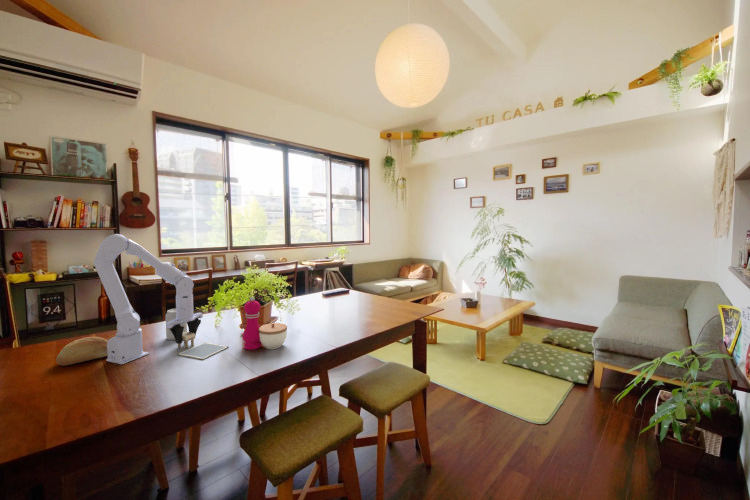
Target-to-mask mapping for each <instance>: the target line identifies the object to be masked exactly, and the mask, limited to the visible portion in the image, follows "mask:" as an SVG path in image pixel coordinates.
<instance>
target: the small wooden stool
mask: <svg viewBox="0 0 750 500" xmlns="http://www.w3.org/2000/svg"><path fill="white" fill-rule="evenodd" d="M195 339H196V336H195V333H190V332H189V331H187V332H183V334H182V342H183V345H184V346H185V347H184V348H185V350H188V349H189V342H190V347H191V348H193V347H195V342H194V341H195ZM177 346H178V348H182V343H181V344H177Z"/></svg>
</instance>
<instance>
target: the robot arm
mask: <svg viewBox="0 0 750 500" xmlns="http://www.w3.org/2000/svg"><path fill="white" fill-rule="evenodd" d="M123 252H125V253H124V254H125V255H131V256H135V257H137V258H139V259H140V260H142V261H144V262H145V263H146V264H147V265H150V266H151V267H152V268H154V269H155V274H156V275H157V276H158V277H160V278H161V279H163V280H164V281H166V282H167V283H169V284H170V285H174V287H175V290H176V293H175V294H176V295H175V309H176V318H175V319H173V320H171V321H169V322H167V323H166V322H165V329H166V328H169V329H170V331H171V332H172V333H173V335H174V338H175V340H174V341H175V344H177V345H178V344H181V345H182V343H183V341H182V334H183V329H184V327H182V326H181V325H180V324H183V323H186V322H187V330H188V332H190V333H195V337H196V335H197V331H198V329H199V327H200V325H201V324H202V320H201V319H203V317H204V316H203V312H196V313H194V293H193V289H194V286H195V284H194V282H193V279H192V277H190V276H189V275H188V274H187V273H186V272H185V271H181V270H180V269H179V268H177V267H176V264H175V263H173V262H170V261H165V262H164V261H161V260H160V259H159V258H158V257H156V256H155V255H154V254H152V253H151V252H150V251H148V250H147V249H146V248H144V247H143V246H142V245H141V244H138V243H137V242H135V241H134V240H132V239H130V238H129V239H128V238H127V237H126V236H125V235H123V234H120V233H114V234H110V235H108V236H107V237H105V238H104V240H103V241H102V242H101V243H100V244H99V246H98V249H97V252H96V255H95V257H94V260H93V265H94V268H95V270H96V272H97V274H98V277H99V279H100V281H101V284H102V286H103V288H104V290H105V293H106V295H107V297H108V299H109V302H110V303H111V304H110V305H111V306H112V308H113V310H114V311H113V312H114V315H115V319H116V322H117V323H116V330H117V331H116V334H115V336H113V337H110V338H109V339H107V340H108V342H107V353H108V356H107V358H106V362H109V363H114V364H118V365H124V364H126V363H129V362H133V361H134V360H137V359H139V358H142V357H144V356H148V355H149V354H150V352H148V351H144V346H143V329H142V328H141V327H140V326H141V323H140V321H141V317H140V314H138V312H136V311H135V309H134V308H133V306H132V305H131V303H130V301H129V297H128V296H127V294H126V291H125V288H124V286H123V284H122V281H121V279H120V277H119V274H118V272H117V269H116V268H115V267H116V266H115V264H114V262H115V261H116V259H117V258H118V256H119V255H120V254H122V253H123Z"/></svg>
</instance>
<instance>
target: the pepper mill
mask: <svg viewBox="0 0 750 500" xmlns="http://www.w3.org/2000/svg"><path fill="white" fill-rule="evenodd" d="M261 308H262V307H261V304H260V302H259V301H257V300H256V298H255V297H254V296H251V297H249V301H247V302H246V303H245V304H244V307H243V310H244V312H245V318H246V325H245V329H244V330H243V333H242V340H243V341H244V343H243V346H244V349H245V350H249V351H250V350H251V351H252V350H257V349H260V348H261V346H262V343H261V342H260V338H259V328H260V327H261V326H260V324H259V317H260V311H261Z"/></svg>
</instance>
